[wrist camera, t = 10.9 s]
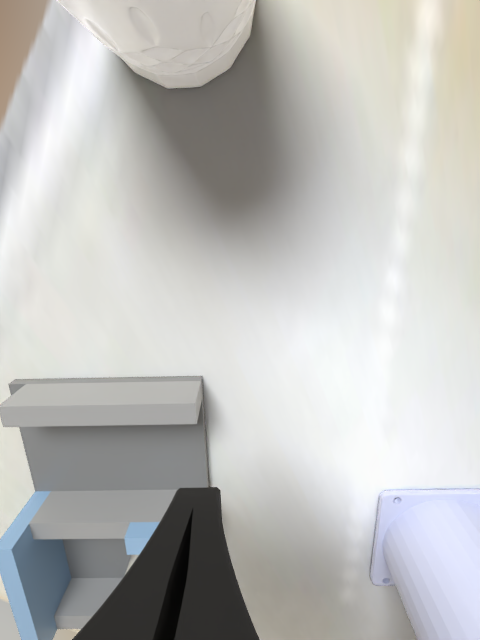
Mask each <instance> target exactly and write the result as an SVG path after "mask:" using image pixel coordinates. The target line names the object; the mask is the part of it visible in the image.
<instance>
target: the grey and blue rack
mask: <svg viewBox="0 0 480 640" xmlns="http://www.w3.org/2000/svg"><path fill="white" fill-rule="evenodd" d="M9 388H10V392H11V396H10V397H9V398H8V399H7V400H6V401H4V402H3V403H2V404H1V405H0V417H1V420H2V424H3V427H19V428H20V432H21V436H22V440H23V444H24V448H25V452H26V456H27V460H28V464H29V468H30V472H31V476H32V480H33V484H34V488H35V493H34V494H33V495H32V497H31V498H30V499H29V501H28V502H27V504H26V505H25V506H24V508H23V509H22V510H21V512H20V513H19V514H18V516H17V517H16V519H15V520H14V521H13V523H12V524H11V525H10V527H9V528H8V529H7V531H6V532H5V534H4V535H3V536H2V538H1V539H0V574H1V577H2V580H3V584H4V587H5V590H6V593H7V596H8V599H9V602H10V606H11V609H12V612H13V615H14V618H15V621H16V624H17V628H18V631H19V634H20V637H21V640H52V639H53V637H54V635H55V633H56V631H57V629H82V628H83V627H84V626H85V624H86V623H87V622H88V621H89V620H90V619H91V617H92V616H93V615H94V614H95V613H96V612H97V610H98V609H99V608H100V607H101V606H102V604H103V603H104V602H105V601H106V599H107V598H108V597H109V596H110V594H111V593H112V592H113V590H114V589H115V588H116V587H117V585H118V584H119V583H120V581H121V580H122V579H123V577H124V576H125V573H126V570H127V567H128V564H129V561H130V558H131V555H139V554H140V553H141V551H142V550H143V548H144V547H145V545H146V544H147V542H148V541H149V539H150V537H151V536H152V534H153V533H154V531H155V529H156V528H157V526H158V524H159V523H160V521H161V519H162V518H163V516H164V514H165V512H166V510H167V509H168V507H169V505H170V503H171V501H172V499H173V497H174V495H175V493H176V491H177V490H178V489H179V488H207V487H209V478H208V463H207V447H206V432H205V416H204V401H203V385H202V376H177V377H123V378H68V379H15V380H14V381H12V382H11V383H10V384H9Z"/></svg>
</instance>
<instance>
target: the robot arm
mask: <svg viewBox="0 0 480 640" xmlns="http://www.w3.org/2000/svg"><path fill="white" fill-rule="evenodd" d="M397 497H398V498H397ZM395 498H397V499H395ZM370 578H371V581H372V583H373V584H374V585H378V586H389V585H396V588H397V590H398V593H399V595H400V598H401V600H402V603H403V605H404V608H405V610H406V613H407V615H408V618H409V620H410V623H411V625H412V628H413V630H414V633H415V635H416V638H417V640H480V489H451V490H387V491H384V492H382V493H381V494H380V497H379V505H378V513H377V522H376V530H375V539H374V547H373V555H372V564H371V572H370ZM72 640H259V637H258V635H257V633H256V631H255V628H254V626H253V623H252V621H251V618H250V616H249V613H248V610H247V608H246V605H245V602H244V600H243V597H242V594H241V591H240V588H239V585H238V582H237V579H236V576H235V573H234V569H233V566H232V563H231V559H230V556H229V552H228V548H227V544H226V539H225V535H224V530H223V525H222V514H221V495H220V490H219V489H218V488H217V487H207V488H179V489H178V490H177V491H176V493H175V495H174V497H173V499H172V501H171V503H170V505H169V507H168V509H167V510H166V512H165V514H164V516H163V518H162V519H161V521H160V523H159V524H158V526H157V528H156V529H155V531H154V533H153V534H152V536H151V537H150V539H149V541H148V542H147V544H146V545H145V547H144V548H143V550H142V551H141V553H140V554H139V556H138V557H137V559H136V560H135V562H134V563H133V564H132V566H131V567H130V569H129V570H128V572H127V573H126V574H125V576H124V577H123V579H122V580H121V581H120V583H119V584H118V585H117V587H116V588H115V589H114V590H113V592H112V593H111V594H110V596H109V597H108V598H107V599H106V601H105V602H104V603H103V604H102V606H101V607H100V608H99V609H98V610H97V612H96V613H95V614H94V615H93V616H92V617H91V619H90V620H89V621H88V622H87V623H86V624H85V626H84V627H83V628H82V629H81V630H80V631H79V633H78V634H77V635H76V636H75V637H74V638H73V639H72Z"/></svg>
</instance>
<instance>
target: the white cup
mask: <svg viewBox="0 0 480 640" xmlns="http://www.w3.org/2000/svg"><path fill="white" fill-rule="evenodd" d="M56 1H57V2H58V3H59V4H60V5H61V6H62V7H63V8H64V9H65V10H66V11H67V12H69V13H70V14H71V15H72V16H73V17H74V18H75V19H76V20H77V21H78V22H79V23H81V24H82V25H83V26H84V27H85V28H86V29H88V30H89V31H90V32H91V33H92V34H93V35H94V36H95V37H96V38H97V39H98V40H99V41H100V42H101V43H102V44H103V45H105V46H106V47H107V48H108V49H110V50H111V51H112V52H114V53H115V54H116V55H118V56H119V57H121V59H122V60H123V61H124V62H125V63H126V64H127V65H128V66H129V67H130V68H131V69H132V70H133V71H134V72H135V73H136V74H138V75H140V76H143V77H145V78H147V79H149V80H151V81H153V82H155V83H157V84H159V85H161V86H163V87H165V88H168V89H169V88H189V87H201V86H203V85H204V84H206V83H208V82H209V81H211V80H212V79H214V78H216V77H217V76H219V75H220V74H222V73H224V72H225V71H227V70H228V69H230V67H231V66H232V64H233V63H234V61H235V59H236V58H237V56H238V55H239V53H240V51H241V50H242V48H243V46H244V45H245V43H246V42H247V40H248V38H249V37H250V34H251V28H252V22H253V16H254V10H255V4H256V0H56Z"/></svg>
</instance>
